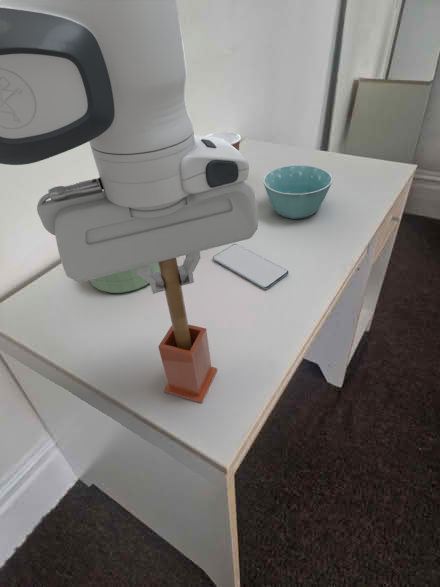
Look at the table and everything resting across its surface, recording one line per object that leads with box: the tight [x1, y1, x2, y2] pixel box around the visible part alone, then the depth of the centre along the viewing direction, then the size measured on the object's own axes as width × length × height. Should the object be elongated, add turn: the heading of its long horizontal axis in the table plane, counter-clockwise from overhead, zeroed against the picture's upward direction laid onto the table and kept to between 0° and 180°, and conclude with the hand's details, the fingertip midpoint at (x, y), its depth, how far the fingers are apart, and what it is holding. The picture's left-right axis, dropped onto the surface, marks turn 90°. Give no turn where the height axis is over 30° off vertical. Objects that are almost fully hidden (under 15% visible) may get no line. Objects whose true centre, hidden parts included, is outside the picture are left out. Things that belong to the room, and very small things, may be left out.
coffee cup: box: [205, 131, 242, 152], centre depth 102 cm, size 10×10×12 cm
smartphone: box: [212, 243, 289, 290], centre depth 74 cm, size 7×1×15 cm
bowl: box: [262, 164, 333, 220], centre depth 88 cm, size 16×16×8 cm
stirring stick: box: [158, 257, 192, 351], centre depth 46 cm, size 2×2×18 cm
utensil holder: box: [157, 323, 218, 404], centre depth 52 cm, size 6×6×10 cm
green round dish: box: [88, 262, 160, 294], centre depth 75 cm, size 15×15×6 cm
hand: (172, 285), depth 43 cm, fingers closed on stirring stick, 2 cm apart
